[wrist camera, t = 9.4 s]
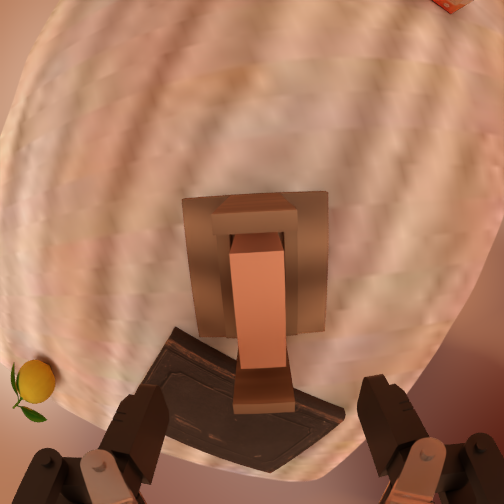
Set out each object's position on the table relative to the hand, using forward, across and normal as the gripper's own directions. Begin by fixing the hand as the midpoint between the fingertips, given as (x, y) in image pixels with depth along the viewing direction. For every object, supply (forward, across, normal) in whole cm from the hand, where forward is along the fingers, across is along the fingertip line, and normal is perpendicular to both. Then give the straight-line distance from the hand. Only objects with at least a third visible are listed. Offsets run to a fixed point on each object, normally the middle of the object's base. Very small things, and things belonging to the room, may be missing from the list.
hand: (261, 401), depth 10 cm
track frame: (+16, 0, 0) cm, 16 cm away
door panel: (+15, 0, 0) cm, 15 cm away
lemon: (+16, +30, +14) cm, 37 cm away
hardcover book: (+17, +4, +19) cm, 26 cm away
